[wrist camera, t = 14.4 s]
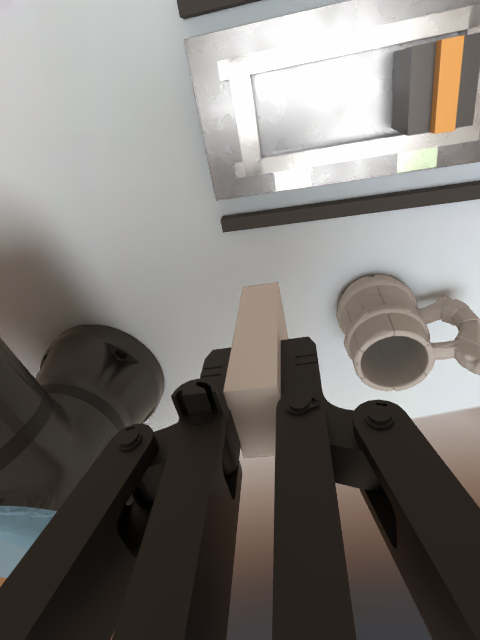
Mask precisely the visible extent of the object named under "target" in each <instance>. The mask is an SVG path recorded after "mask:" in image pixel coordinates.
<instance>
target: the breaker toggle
mask: <svg viewBox="0 0 480 640" xmlns="http://www.w3.org/2000/svg"><path fill="white" fill-rule="evenodd" d="M479 70H480V32H479V33H474V34H469V35H462V36H457V37H452V38H447V39H443V40H439V41H435V42H430V43H426V44H421V45H416V46H411V47H408V48H405V49H402V50H399V51H395V52H394V67H393V106H392V129H394V130H396V131H398V132H400V133H402V134H404V135H406V136H411V135H417V134H423V133H433V134H438V133H444V132H451V131H455V128H460V127H466V126H472V125H473V120H474V111H475V103H476V95H477V87H478V79H479Z"/></svg>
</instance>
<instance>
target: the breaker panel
mask: <svg viewBox="0 0 480 640" xmlns="http://www.w3.org/2000/svg"><path fill="white" fill-rule="evenodd" d="M479 32H480V0H350V1H345V2H341V3H337V4H333V5H328V6H324V7H320V8H316V9H311V10H307V11H303V12H299V13H294V14H290V15H286V16H282V17H277V18H273V19H269V20H265V21H261V22H256V23H252V24H248V25H244V26H239V27H235V28H231V29H227V30H222V31H218V32H214V33H210V34H205V35H201V36H197V37H193V38H188V39H184V43H185V48H186V53H187V58H188V63H189V68H190V73H191V78H192V83H193V88H194V93H195V98H196V103H197V108H198V113H199V118H200V123H201V128H202V133H203V138H204V143H205V148H206V153H207V158H208V163H209V168H210V173H211V178H212V183H213V188H214V193H215V198H216V200H223V199H230V198H237V197H243V196H250V195H257V194H264V193H270V192H277V191H284V190H291V189H298V188H304V187H311V186H318V185H325V184H332V183H338V182H345V181H352V180H359V179H365V178H372V177H379V176H386V175H393V174H399V173H406V172H413V171H420V170H426V169H433V168H440V167H447V166H454V165H460V164H467V163H474V162H480V70H479V79H478V87H477V95H476V103H475V111H474V120H473V125H472V126H466V127H460V128H455V131H451V132H444V133H438V134H433V133H423V134H417V135H411V136H406V135H404V134H402V133H400V132H398V131H396V130H394V129H392V106H393V67H394V52H395V51H399V50H402V49H405V48H408V47H411V46H416V45H421V44H426V43H430V42H435V41H439V40H443V39H447V38H452V37H457V36H462V35H469V34H474V33H479Z"/></svg>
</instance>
